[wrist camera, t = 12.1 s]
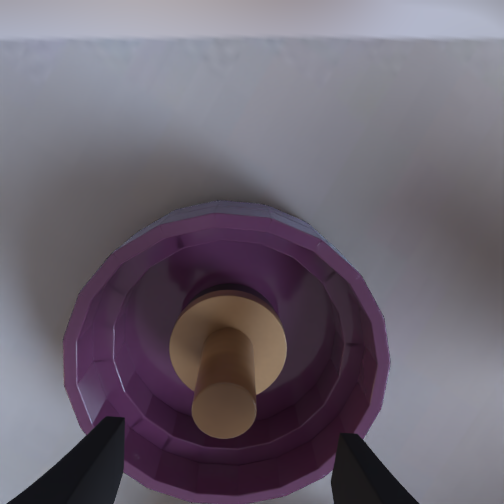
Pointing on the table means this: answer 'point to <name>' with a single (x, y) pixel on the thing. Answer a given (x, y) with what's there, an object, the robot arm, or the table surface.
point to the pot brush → (227, 355)
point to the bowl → (268, 401)
